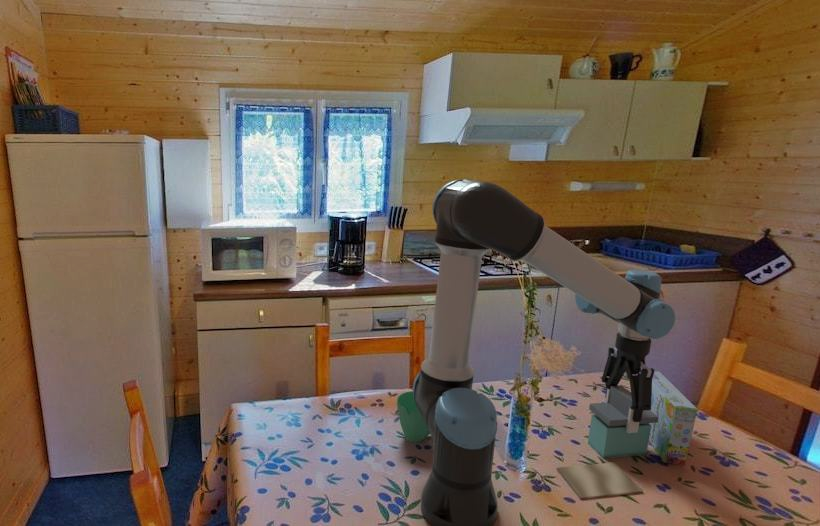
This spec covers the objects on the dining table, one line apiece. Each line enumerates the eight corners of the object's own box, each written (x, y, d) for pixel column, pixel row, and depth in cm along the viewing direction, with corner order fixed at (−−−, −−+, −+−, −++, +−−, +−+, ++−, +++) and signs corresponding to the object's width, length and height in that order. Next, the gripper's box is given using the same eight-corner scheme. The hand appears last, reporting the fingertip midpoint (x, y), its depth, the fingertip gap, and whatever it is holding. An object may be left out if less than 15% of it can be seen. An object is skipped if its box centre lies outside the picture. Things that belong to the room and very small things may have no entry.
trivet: (580, 499, 99) (580, 497, 98) (556, 469, 108) (556, 467, 108) (642, 492, 102) (643, 490, 102) (614, 463, 111) (614, 462, 111)
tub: (602, 458, 113) (607, 428, 111) (587, 443, 119) (591, 414, 118) (646, 454, 116) (651, 425, 114) (629, 439, 122) (633, 411, 120)
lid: (608, 430, 111) (612, 403, 109) (588, 412, 118) (592, 387, 117) (657, 426, 114) (662, 399, 112) (634, 409, 121) (639, 384, 120)
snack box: (688, 466, 112) (699, 408, 109) (663, 464, 112) (674, 406, 109) (651, 419, 133) (660, 370, 129) (631, 417, 133) (639, 368, 130)
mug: (398, 449, 113) (400, 411, 110) (392, 427, 122) (394, 391, 120) (457, 445, 115) (460, 408, 113) (446, 423, 125) (449, 389, 123)
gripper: (681, 352, 102) (663, 445, 107) (620, 320, 122) (607, 400, 127) (651, 352, 100) (634, 447, 105) (594, 320, 120) (582, 401, 125)
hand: (620, 422), depth 116 cm, fingers closed on lid, 8 cm apart
